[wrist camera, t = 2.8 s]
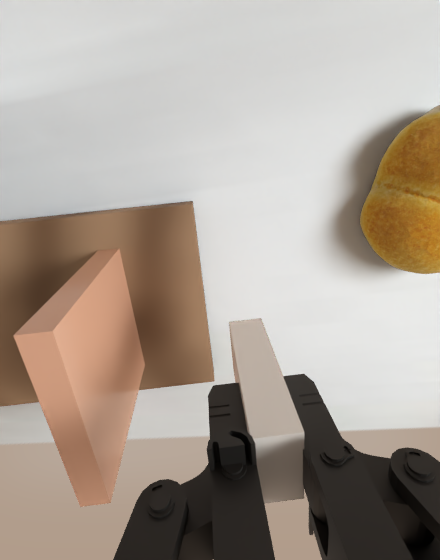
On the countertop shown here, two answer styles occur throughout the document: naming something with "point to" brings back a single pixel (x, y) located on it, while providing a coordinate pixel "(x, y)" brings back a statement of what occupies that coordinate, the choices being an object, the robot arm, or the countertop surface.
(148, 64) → the countertop surface
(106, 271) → the tile
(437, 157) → the bread roll
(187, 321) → the board
